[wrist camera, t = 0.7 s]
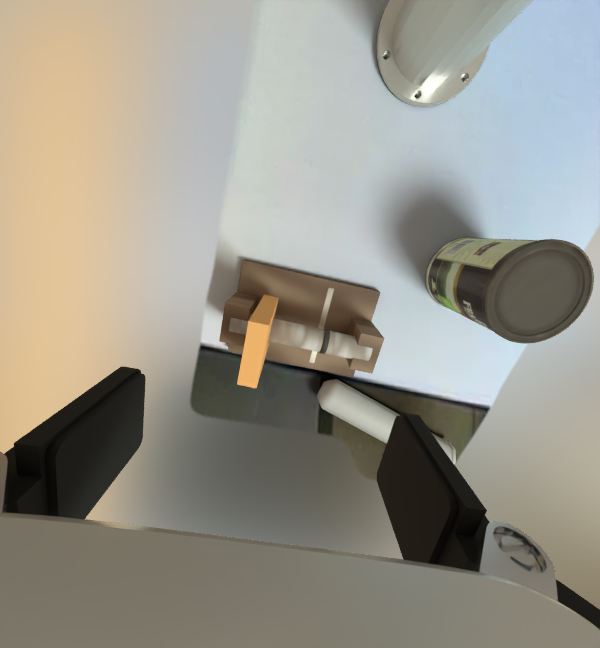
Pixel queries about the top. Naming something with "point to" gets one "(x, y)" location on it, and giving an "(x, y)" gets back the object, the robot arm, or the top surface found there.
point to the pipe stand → (307, 319)
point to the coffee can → (513, 284)
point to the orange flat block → (257, 341)
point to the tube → (364, 412)
